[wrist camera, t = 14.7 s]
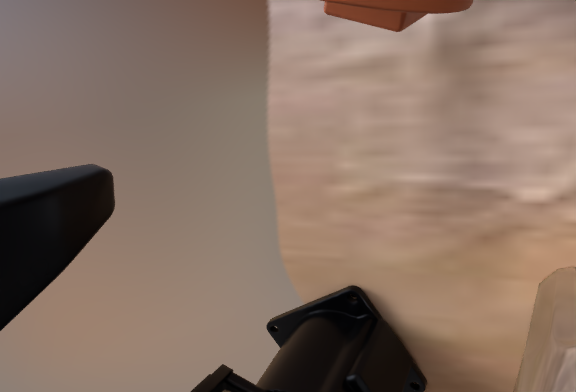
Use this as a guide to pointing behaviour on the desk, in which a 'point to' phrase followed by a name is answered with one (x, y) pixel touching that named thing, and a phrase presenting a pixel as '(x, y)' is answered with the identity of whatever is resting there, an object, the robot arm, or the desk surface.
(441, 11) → the orange piece
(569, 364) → the milkshake
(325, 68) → the desk surface
